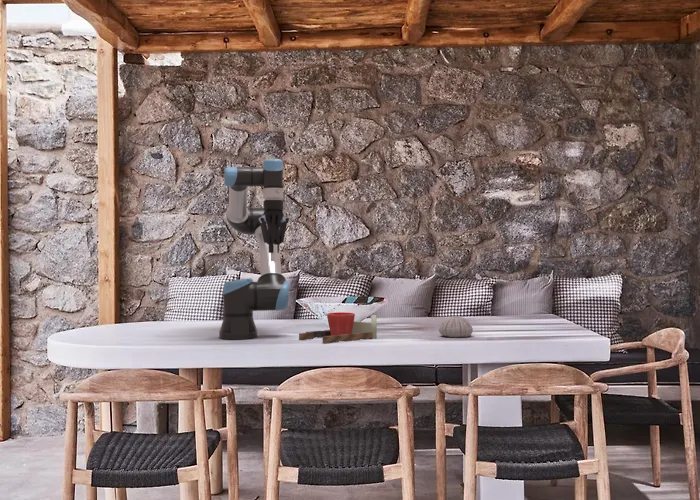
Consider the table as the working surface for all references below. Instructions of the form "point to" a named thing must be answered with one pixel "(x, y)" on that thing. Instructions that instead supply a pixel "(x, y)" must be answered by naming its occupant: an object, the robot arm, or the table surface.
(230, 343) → the table surface
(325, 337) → the walnut trap lane
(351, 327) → the flower pot
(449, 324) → the sea urchin shell
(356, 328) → the sage end wall
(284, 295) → the robot arm
